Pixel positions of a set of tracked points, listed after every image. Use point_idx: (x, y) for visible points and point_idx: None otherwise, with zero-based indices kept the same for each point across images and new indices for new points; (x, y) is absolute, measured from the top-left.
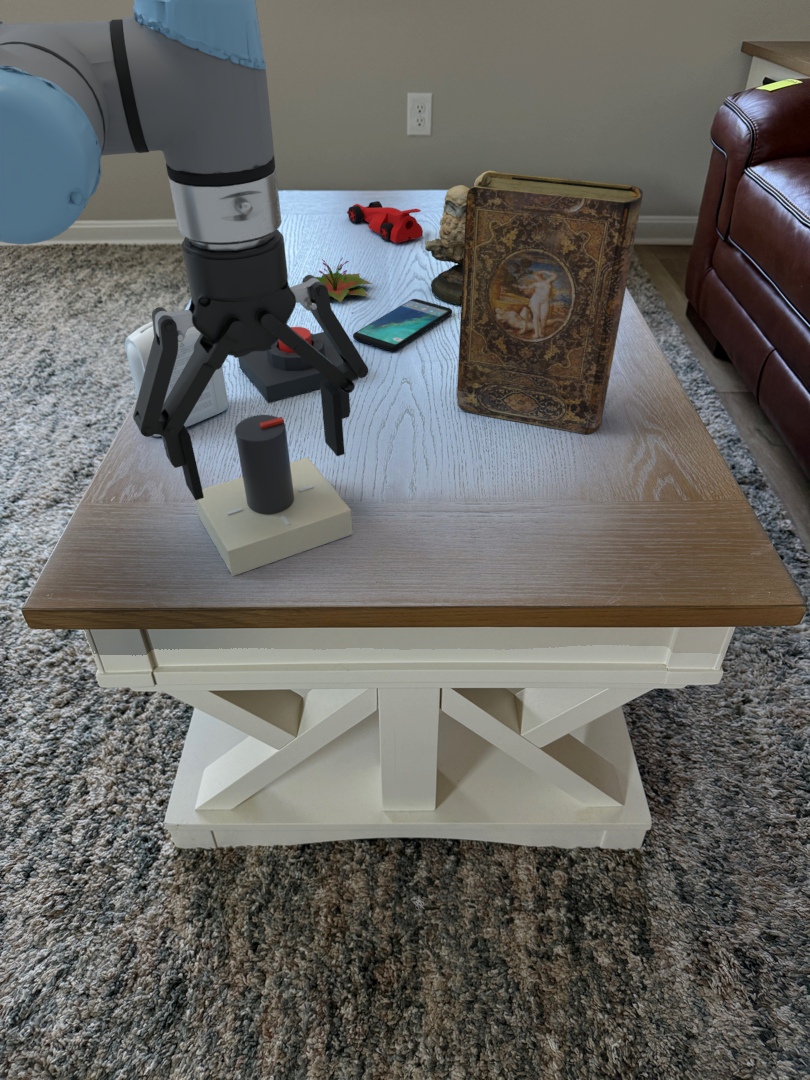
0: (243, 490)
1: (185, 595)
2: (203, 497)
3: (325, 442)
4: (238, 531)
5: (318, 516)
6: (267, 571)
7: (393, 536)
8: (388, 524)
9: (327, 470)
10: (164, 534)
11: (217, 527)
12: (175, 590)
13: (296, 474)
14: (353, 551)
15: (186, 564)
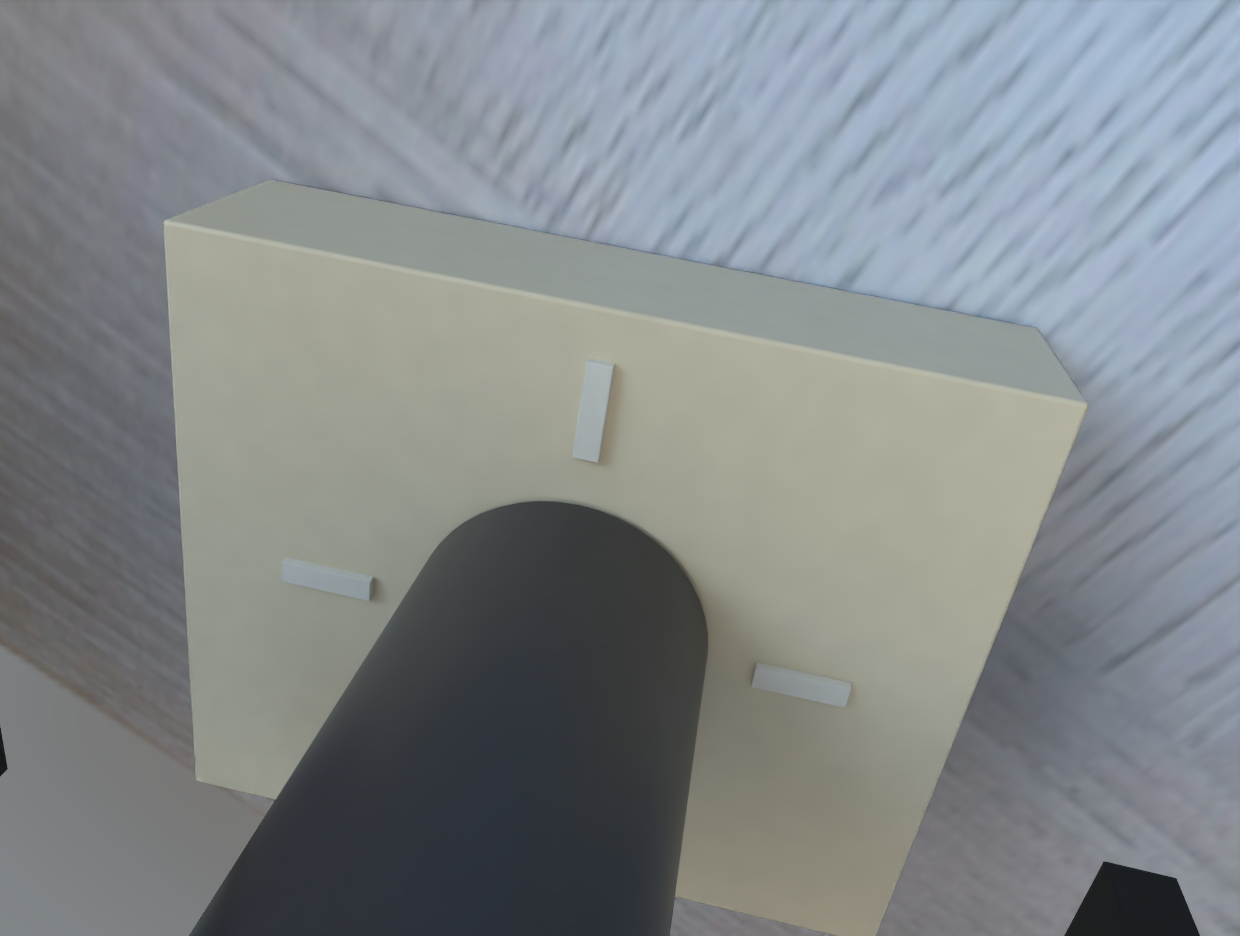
0: (464, 439)
1: (72, 636)
2: (2, 769)
3: (1104, 862)
4: (289, 712)
5: (698, 879)
6: None
7: (997, 923)
8: (1051, 865)
9: (1225, 299)
10: (57, 202)
11: (202, 618)
12: (39, 589)
13: (860, 525)
14: None
15: (115, 485)
